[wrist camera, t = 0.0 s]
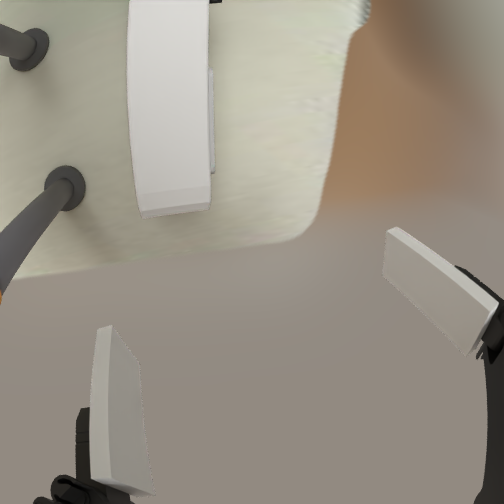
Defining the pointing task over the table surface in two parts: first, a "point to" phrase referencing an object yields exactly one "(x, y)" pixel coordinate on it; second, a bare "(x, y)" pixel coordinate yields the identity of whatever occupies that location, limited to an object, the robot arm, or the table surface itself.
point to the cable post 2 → (38, 219)
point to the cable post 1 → (23, 47)
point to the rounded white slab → (170, 105)
